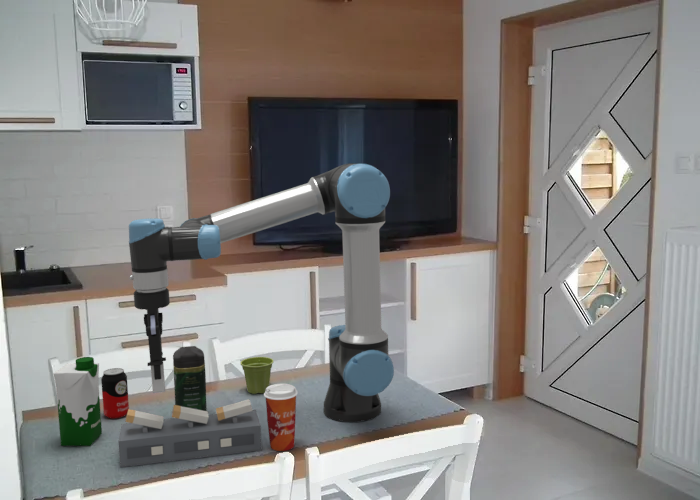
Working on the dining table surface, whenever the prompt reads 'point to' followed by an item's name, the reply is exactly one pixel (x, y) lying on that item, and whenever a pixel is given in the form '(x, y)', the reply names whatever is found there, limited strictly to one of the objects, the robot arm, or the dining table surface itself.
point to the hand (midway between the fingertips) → (159, 391)
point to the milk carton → (78, 402)
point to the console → (188, 439)
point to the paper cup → (281, 415)
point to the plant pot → (257, 373)
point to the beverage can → (115, 393)
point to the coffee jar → (190, 378)
